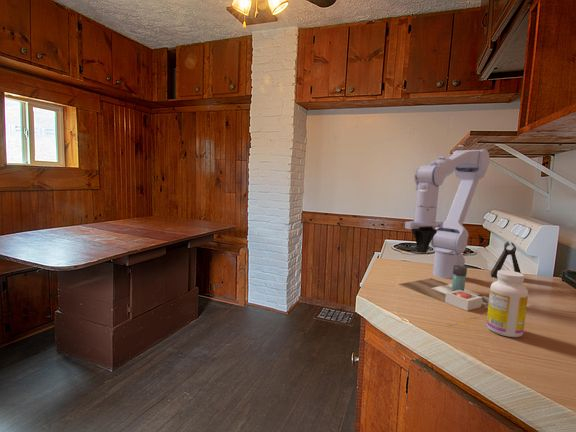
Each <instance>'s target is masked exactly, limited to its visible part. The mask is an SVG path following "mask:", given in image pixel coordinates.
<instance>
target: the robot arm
mask: <svg viewBox="0 0 576 432" xmlns="http://www.w3.org/2000/svg"><path fill="white" fill-rule="evenodd" d="M489 165H490V153H489V151H488V150H487V149H486V148H482V149H467V150H463V149H461V150H460V149H456V150H454V151H452V155H451V156H449V157H447V156H438V159H437V160H435V161H431V162H430V163H429V164H428V165H421V166H419V167H417V168H416V170H415V174H414V176H413V177H414V178H413V179H414V183H415V190H416V191H417V193H416V201H415V202H416V203H415V214H414V220H410V221H405V222H404V229H407V230H411V233H412V235H413V236H414V240H415V243H416V248H417V252H418V253H421V254H427V252H428V249H429V248H430V247H429V246H431V247H432V250H433V251H434V258H433V268H432V275H433V276H435V277H438V278H441V279H448V280H453V267H454V265H460V266H465V262H466V259H465V256H464V254H463V253H464V252H465V251H466V249H467V246H468V240H469V236H470V235H469V232H468V230H467V229H466V228H465V227H464V225H463V224H464V222H465V219H466V216H467V213H468V211H469V208H470V205H471V203H472V200H473V197H474V195H475V192H476V189H477V186H478V183H479V181H480V180H481V179H483V178H485V175H486V172H487V171H488V168H489ZM453 173H454V174H455V177H456V178H458V179H460V183H459V185H458V188H457V190H456V193H455V196H454V198H453V200H452V204H451V206H450V209H449V212H448V215H447V217H446V220H445V221H442V220H437V212H438V211H437V210H438V201H439V192H440V191H439V190H440V186H442V185H443V183H444V181H445V180H446V178H447V177H449V176H450V175H452V174H453Z"/></svg>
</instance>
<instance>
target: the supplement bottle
mask: <svg viewBox="0 0 576 432" xmlns="http://www.w3.org/2000/svg"><path fill="white" fill-rule="evenodd" d="M496 279H497V280H496V281H493V282H492V283H491V284H490V287H489V295H488V297H489V304H488V306H487V314H486V315H487V316H486V327H487V328H488V329H489V331H491V332H492V333H495V334H497V335H499V336H504V337H508V338H509V337H510V338H520V337H522V336H523V335H524V330H525V323H526V314H527V308H528V307H527V305H528V298H529V291H528V289H527V287H525V286H524V285H523V283H524V281H525V275H524V274H523V273H518V272H514V270H508V269H507V270H506V269H501V270H498V272H497V278H496Z"/></svg>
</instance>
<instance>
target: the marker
mask: <svg viewBox="0 0 576 432" xmlns="http://www.w3.org/2000/svg"><path fill="white" fill-rule="evenodd" d="M467 273H468V267H467V266H465V265H464V266H460V265H454V267H453V279H451V280H452V282H451V285H452V290H451V292H452V291H456V290H462V291H464V289H466V288H465V286H466V277H467Z"/></svg>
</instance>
